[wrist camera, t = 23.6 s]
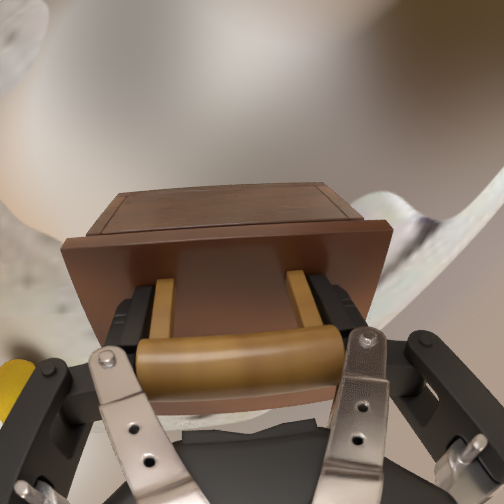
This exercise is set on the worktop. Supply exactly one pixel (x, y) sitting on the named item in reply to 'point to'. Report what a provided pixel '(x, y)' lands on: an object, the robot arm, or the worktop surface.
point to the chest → (222, 207)
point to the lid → (232, 308)
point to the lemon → (13, 383)
